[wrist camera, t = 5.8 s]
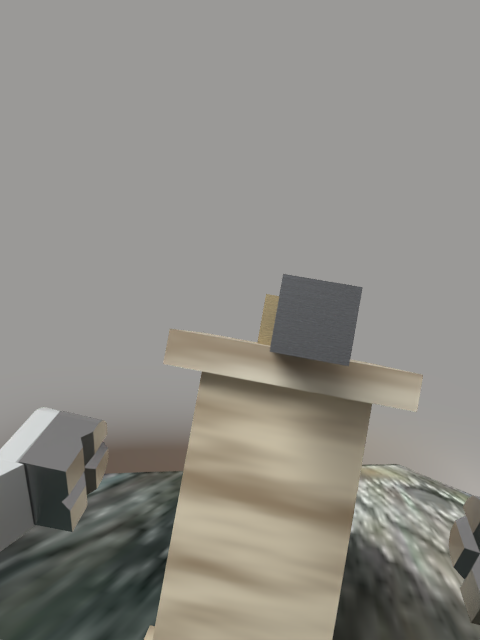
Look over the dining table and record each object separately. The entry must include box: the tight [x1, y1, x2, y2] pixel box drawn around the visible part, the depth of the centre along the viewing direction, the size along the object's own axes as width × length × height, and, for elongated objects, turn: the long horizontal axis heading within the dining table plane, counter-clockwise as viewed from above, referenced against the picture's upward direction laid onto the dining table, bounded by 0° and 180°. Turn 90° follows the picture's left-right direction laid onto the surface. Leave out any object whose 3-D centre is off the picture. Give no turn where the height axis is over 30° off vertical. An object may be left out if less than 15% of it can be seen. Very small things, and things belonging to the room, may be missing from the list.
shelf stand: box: [144, 329, 423, 640], centre depth 29 cm, size 12×14×26 cm
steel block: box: [258, 274, 362, 366], centre depth 24 cm, size 22×4×4 cm, turn 176°
